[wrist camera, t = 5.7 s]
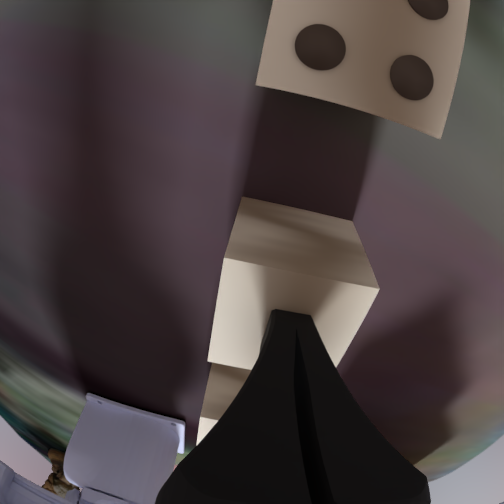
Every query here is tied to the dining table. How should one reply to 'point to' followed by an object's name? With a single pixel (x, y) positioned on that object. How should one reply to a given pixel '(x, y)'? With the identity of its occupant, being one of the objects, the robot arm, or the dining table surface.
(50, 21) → the dining table surface
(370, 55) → the dotted block
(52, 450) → the brown lumpy figurine
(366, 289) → the plain block
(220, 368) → the dotted block
